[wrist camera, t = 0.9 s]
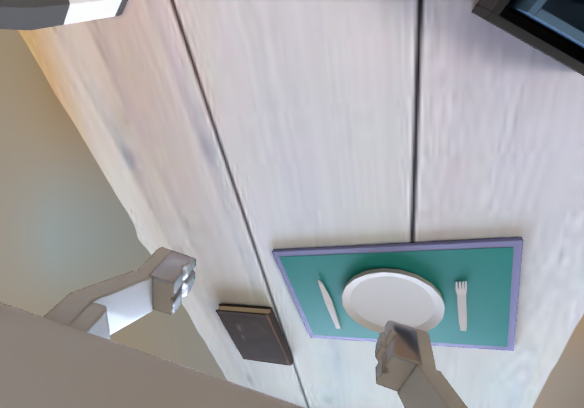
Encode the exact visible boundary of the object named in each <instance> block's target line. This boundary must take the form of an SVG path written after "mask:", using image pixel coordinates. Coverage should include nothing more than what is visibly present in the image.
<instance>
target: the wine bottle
mask: <svg viewBox="0 0 584 408" xmlns="http://www.w3.org/2000/svg"><path fill="white" fill-rule="evenodd" d="M127 1H128V0H0V29H11V30H34V29H40V28H47V27H53V26H59V25H65V24H71V23H77V22H83V21H89V20H95V19H102V18H108V17H114V16H119V15H121V14H122V12H123V10H124V8H125V5H126V3H127Z"/></svg>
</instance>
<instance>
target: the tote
mask: <svg viewBox="0 0 584 408" xmlns="http://www.w3.org/2000/svg"><path fill="white" fill-rule="evenodd" d="M509 1H510V0H479V2H478V3H477V4H476V6H475V7H474V9H473V10H472V12H473V13H474V14H476V15H478V16H479V17H481V18H483V19H485V20H486V21H488V22H490V23H492V24H493V25H495V26H497V27H499V28H500V29H502V30H504V31H506V32H507V33H509V34H511V35H513V36H514V37H516V38H518V39H520V40H521V41H523V42H525V43H527V44H529V45H530V46H532V47H534V48H536V49H537V50H539V51H541V52H543V53H544V54H546V55H548V56H550V57H551V58H553V59H555V60H557V61H558V62H560V63H562V64H564V65H565V66H567V67H569V68H571V69H573V70H574V71H576V72H578V73H580V74H581V75H583V76H584V52H583V51H581V50H580V49H578V48H576V47H574V46H573V45H571V44H569V43H567V42H566V41H564V40H562V39H560V38H559V37H557V36H555V35H553V34H552V33H550V32H548V31H546V30H545V29H543V28H541V27H539V26H538V25H536V24H534V23H533V22H531V21H529V20H527V19H526V18H524V17H522V16H520V15H519V14H517V13H515V12H513V11H512V10H510V9H508V8H506V5H507V4H508V3H509Z"/></svg>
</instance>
